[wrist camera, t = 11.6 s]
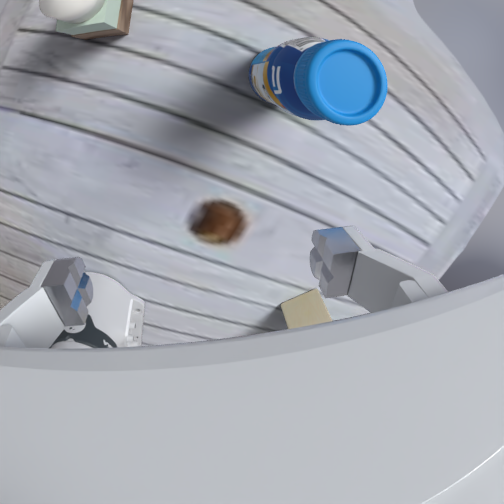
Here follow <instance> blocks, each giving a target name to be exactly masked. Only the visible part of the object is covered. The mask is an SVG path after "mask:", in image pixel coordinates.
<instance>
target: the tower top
mask: <svg viewBox="0 0 504 504" xmlns="http://www.w3.org/2000/svg"><path fill="white" fill-rule="evenodd" d="M120 5H121V0H105V3H104V5H103V7H102V8H101V10H100V11H99V12H98V13H97V14H96V15H95V16H94V17H93V18H91V19H90V20H88V21H86V22H83V23H80V24H71V23H68V22H64V21H61V20H57V24H56V31H57V32H61V33H66V34H71V35H77V34H82V33H88V32H95V31H102V30H110V29H117V24H118V17H119V11H120Z"/></svg>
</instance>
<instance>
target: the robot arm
mask: <svg viewBox="0 0 504 504" xmlns="http://www.w3.org/2000/svg"><path fill="white" fill-rule="evenodd" d="M312 243H313V244H314V246H315V247H314V248H313V249H312V250H311V252H310V267H311V271H312V273H313V275H314V277H315V278H317V279H319V287H320V289H321V291H322V293H323V295H324V297H325V298H331V297H337V296H344V295H348V297H350V298H351V299H353V300H354V301H355V302H357V303H358V304H359V305H361V306H362V307H364V308H365V309H366V310H368V311H369V312H371V313H367V314H363V315H359V316H354V317H350V318H345V319H340V320H335V321H330V322H325V323H320V324H315V325H309V326H304V327H298V328H292V329H286V330H280V331H274V332H267V333H261V334H254V335H247V336H239V337H232V338H224V339H215V340H207V341H198V342H188V343H177V344H165V345H152V346H141V345H142V332H143V321H144V310H145V302H144V301H143V300H142V299H141V298H139V297H137V296H135V295H133V294H131V293H129V292H128V291H127V290H126V289H125V288H124V287H123V286H122V285H121V284H120V283H118V282H117V281H116V280H114V279H112V278H110V277H108V276H106V275H103V274H99V273H95V272H84V270H85V267H86V266H85V264H84V262H83V260H82V258H80V257H73V258H64V259H54V260H48V261H45V262H44V263H43V264H42V266H41V268H40V270H39V271H38V273H37V275H36V277H35V278H34V280H33V282H32V284H31V286H30V287H29V289H25V290H24V291H23V292H21V293H20V294H19V295H18V296H17V297H15V298H14V299H13V300H12V301H11V302H9V303H8V304H7V305H6V306H5V307H3V308H2V309H1V310H0V504H504V274H502V275H500V276H497V277H494V278H491V279H489V280H485V281H482V282H480V283H476V284H473V285H470V286H467V287H465V288H461V289H458V290H455V291H451V292H448V291H447V290H446V289H445V288H444V286H443V285H442V284H441V283H440V282H439V280H438V279H437V278H436V277H435V276H434V275H433V274H432V273H430V272H428V271H426V270H423V269H421V268H419V267H417V266H415V265H413V264H411V263H409V262H406V261H404V260H402V259H400V258H398V257H396V256H393V255H391V254H389V253H387V252H384V251H382V250H380V249H374V248H373V246H372V245H371V244H370V243H369V242H368V241H367V239H366V238H365V237H364V236H363V235H362V234H361V232H360V231H359V230H358V229H357V228H356V227H355V226H345V227H338V228H330V229H321V230H314V231H313V234H312Z"/></svg>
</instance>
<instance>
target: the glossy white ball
mask: <svg viewBox="0 0 504 504" xmlns="http://www.w3.org/2000/svg"><path fill="white" fill-rule="evenodd" d="M104 3H105V0H39V7H40V10H41V12H42V13H43V14H44V15H45V16H47V17H50V18H54V19H57V20H61V21H64V22H68V23H71V24H80V23H83V22H86V21H88V20H90V19H91V18H93V17H94V16H95V15H96V14H97V13H98V12H99V11H100V10H101V8H102V7H103V5H104Z"/></svg>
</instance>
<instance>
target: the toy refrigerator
mask: <svg viewBox="0 0 504 504" xmlns="http://www.w3.org/2000/svg"><path fill="white" fill-rule="evenodd" d="M281 308H282V311H283V314H284V317H285V320H286V324H287V327H288V329H292V328H298V327H304V326H309V325H315V324H320V323H325V322H330V321H332V319H331V317H330V314H329V312H328V310H327V308H326V306H325V304H324V302H323V300H322V298H321V295H320V293H319V291H318V289H313V290H311V291H309V292H306V293H304V294H302V295H299V296H297V297H295V298H293V299H290V300H288V301H286V302H283V303H282V304H281Z"/></svg>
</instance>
